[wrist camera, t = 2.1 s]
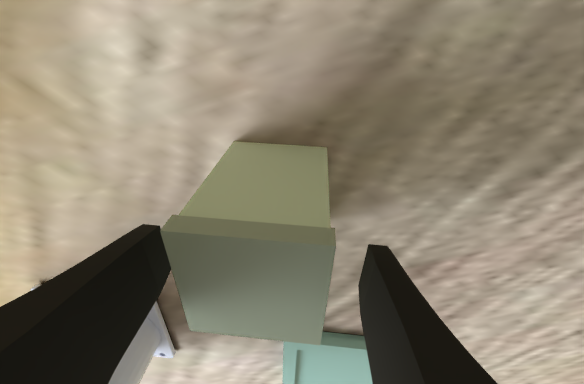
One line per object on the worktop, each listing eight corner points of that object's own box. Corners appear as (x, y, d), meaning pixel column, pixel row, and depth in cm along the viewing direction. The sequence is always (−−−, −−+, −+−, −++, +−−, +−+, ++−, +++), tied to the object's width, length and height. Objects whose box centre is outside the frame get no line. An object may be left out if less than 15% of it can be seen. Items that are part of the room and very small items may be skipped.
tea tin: (239, 216, 15) (190, 330, 10) (232, 138, 13) (160, 230, 7) (320, 223, 15) (320, 345, 9) (329, 145, 12) (336, 245, 7)
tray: (283, 392, 26) (282, 405, 25) (285, 327, 20) (283, 340, 20) (398, 406, 26) (401, 420, 25) (434, 343, 20) (439, 358, 19)
